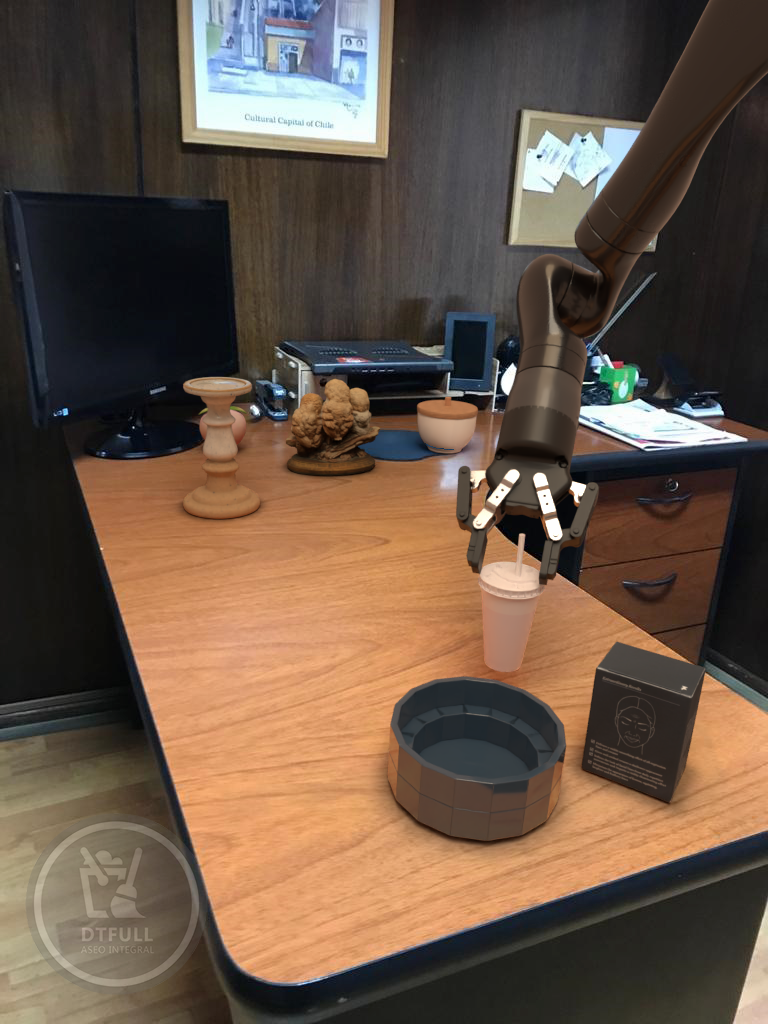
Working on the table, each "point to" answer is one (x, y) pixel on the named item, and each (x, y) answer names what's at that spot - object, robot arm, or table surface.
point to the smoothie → (508, 610)
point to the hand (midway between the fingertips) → (509, 575)
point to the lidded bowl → (446, 424)
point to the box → (642, 719)
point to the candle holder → (220, 453)
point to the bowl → (475, 757)
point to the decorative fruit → (237, 427)
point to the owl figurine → (332, 432)
